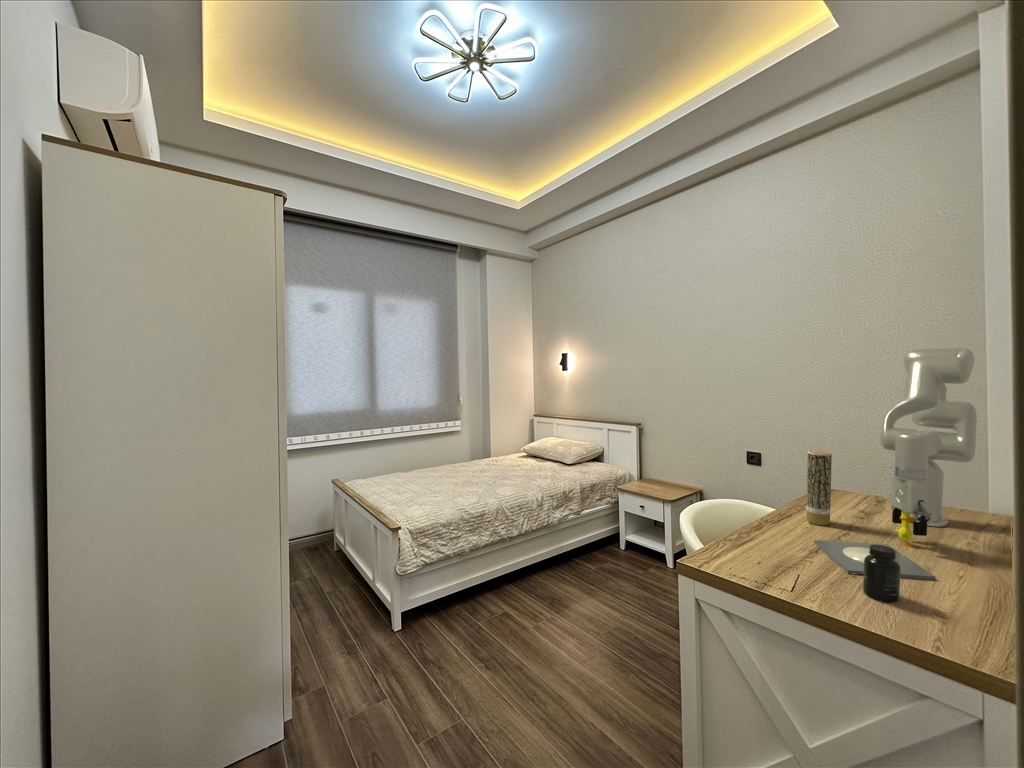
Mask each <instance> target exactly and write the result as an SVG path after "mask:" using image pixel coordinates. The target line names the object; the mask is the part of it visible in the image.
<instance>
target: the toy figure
mask: <svg viewBox="0 0 1024 768" xmlns="http://www.w3.org/2000/svg"><path fill="white" fill-rule="evenodd" d="M900 519H901V520H902V524H901V525H902V526H901V527H900V528H899V529H897V528H895V529H894V530H895V532H896V533H897V534H898V536H899V537H900V539H901V540H902V541H904V542H903V543H902V545H903V546H905V547H913V544H912V542H909V541H910V540H911V539H912V538H913V531H912V530H911V529H910V524H911V523H912V524H913V521H915V519H914V517H911V514H909V513H906V512H904V511H902V513H901V517H900Z"/></svg>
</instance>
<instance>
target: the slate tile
mask: <svg viewBox="0 0 1024 768" xmlns="http://www.w3.org/2000/svg"><path fill="white" fill-rule="evenodd" d="M814 543H815V544H816V545H818V546H819V547H820V548H821V549H822V550H823V551H824V552H825V553H826V554H827V555H828V556H827V557H829V558H830V559H831V561H833V562H834V563H835V562H836V563H837V564H838V565H839V566H838V567H839V568H841V567H842V568H843V569H844V570H845V571H846V572H848V573H856V574H855V575H857V574H864V559H865V557H866V556H868V555H870V554H869V551H870V546H871V545H875V544H876V545H883V546H887V547H890V548H892V549H894V550H895V552H896V554H895V556H896V559H895V561H897V562H898V563H899V565H900V568H901V571H900V579H911V580H924V581H925V580H927V581H936V576H935V574H932V573H931V572H929V571H928V570H927V569H925V568H924V567H922V566H921V565H919V564H918V563H916V562H915V561H913V560H912V559H910V558H908V557H907V556H906V555H904V554H903V553H901V552H899V550H897V549H895V548H894V547H893V546H892V545H889V544H885V543H869V542H867V543H866V542H855V541H854V542H852V541H849V542H848V541H838V540H837V541H836V540H819V539H814V540H813V544H814ZM815 544H814V545H815ZM816 545H815V546H816ZM818 546H817V547H818ZM819 547H818V548H819ZM820 548H819V549H820ZM821 549H820V550H821ZM822 550H821V551H822ZM823 551H822V552H823ZM824 552H823V553H824ZM825 553H824V554H825ZM826 554H825V555H826ZM836 563H835V564H836ZM837 564H836V565H837ZM842 568H841V569H842ZM843 569H842V570H843ZM844 570H843V571H844ZM845 571H844V572H845ZM846 572H845V573H846Z"/></svg>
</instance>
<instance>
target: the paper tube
mask: <svg viewBox="0 0 1024 768" xmlns="http://www.w3.org/2000/svg"><path fill="white" fill-rule="evenodd" d="M832 460H833V459H832V452H831V451H828V450H821V449H820V450H819V449H808V450H807V472H806V473H807V478H806V479H807V480H806V482H807V483H806V521H807V522H808V523H810V524H813V525H817V526H828V525H830V523H831V505H832V504H831V497H832V496H831V494H832V464H833V463H832Z"/></svg>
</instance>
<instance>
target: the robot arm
mask: <svg viewBox="0 0 1024 768" xmlns="http://www.w3.org/2000/svg"><path fill="white" fill-rule="evenodd" d="M903 362H904V367H905V371H906V372H907V373H906V382H905V387H904V396H903V399H902V400H901V401H899V402H897V403H896V404H894V405H893V406H892V407H891V408H890V409H889V410H888V411H887V412H886V413H885V414H884V417H883V420H882V424H881V430H880V438H879V439H880V440H879V442H880V445H881V446H882V448H883V449H885V450H887V451H891V452H894V472H893V474H894V475H893V477H892V481H891V487H890V493H889V502H890V504H891V510H892V513H891V514H892V515H891V517H892V518H891V522H892V523H893V524H898V525H899V524H900V525H902V520H901V519H900V517H901V513H902V511H904V512H906V513H909V514H911V517H914V519H915V521H913V523H912V535H914V536H919V537H920V536H922V537H926V536H927V535H928V527H936V528H937V527H939V528H940V527H942V528H943V527H946V526H948V525H949V520H948V519H947V518H944V517H943V500H944V499H943V498H944V497H943V496H944V479H945V477H944V471H943V469H942V467H940V465H938V463H936V461H947V462H956V463H970V462H971V461H973V459H974V457H975V455H976V441H977V425H978V424H977V421H978V420H977V419H978V417H977V409H976V407H975V406H974V405H973V404H972V403H971V402H969V401H968V402H967V401H959V400H958V401H956V400H955V401H954V400H947V389H948V388H947V385H946V384H954V385H955V384H958V385H960V384H961V385H962V384H964V383H967V382H968V381H969V379H970V377H971V375H972V372H973V368H974V365H975V355H974V353H973V351H972V350H970V349H969V348H962V347H959V348H956V347H955V348H918V349H914V350H913V349H912V350H910V351H906V353H905V354H904V356H903ZM908 415H911V419H912V422H913V423H914V424H915V425H916V426H919V427H924V428H925V427H926V428H936V429H948V430H954V431H956V433H955V432H945V431H937V430H936V431H933V430H925V429H924V430H923V429H914V428H913V429H912V428H902V427H894V426H895V424H896V422H897V421H898V420H899V419H902V418H904V417H906V416H908Z"/></svg>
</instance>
